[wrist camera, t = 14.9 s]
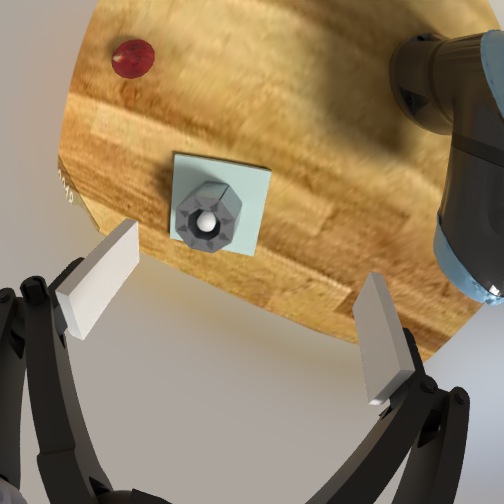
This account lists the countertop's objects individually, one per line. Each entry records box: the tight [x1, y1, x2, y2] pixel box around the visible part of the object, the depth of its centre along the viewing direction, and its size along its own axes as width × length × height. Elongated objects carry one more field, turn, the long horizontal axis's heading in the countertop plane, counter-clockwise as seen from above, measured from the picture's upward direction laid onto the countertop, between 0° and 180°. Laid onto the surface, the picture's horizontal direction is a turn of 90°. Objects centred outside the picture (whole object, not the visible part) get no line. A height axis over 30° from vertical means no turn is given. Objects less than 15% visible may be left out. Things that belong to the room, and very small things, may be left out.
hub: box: [175, 181, 243, 253], centre depth 39 cm, size 8×8×6 cm
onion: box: [112, 40, 154, 79], centre depth 28 cm, size 6×6×8 cm
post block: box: [170, 153, 272, 256], centre depth 40 cm, size 14×14×6 cm
